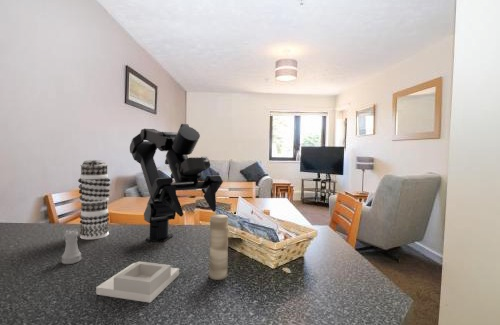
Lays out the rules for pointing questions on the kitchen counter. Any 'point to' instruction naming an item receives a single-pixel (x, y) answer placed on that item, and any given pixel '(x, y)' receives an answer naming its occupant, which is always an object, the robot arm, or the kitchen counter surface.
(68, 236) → the rook chess piece
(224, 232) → the birch post
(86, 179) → the decorative candle
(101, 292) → the socket base
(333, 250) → the kitchen counter surface
